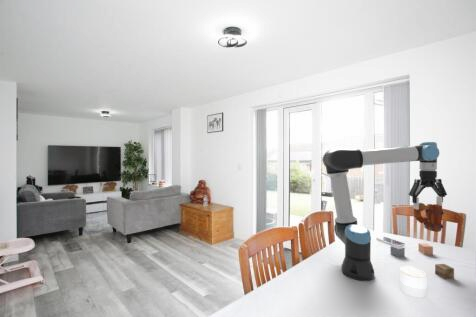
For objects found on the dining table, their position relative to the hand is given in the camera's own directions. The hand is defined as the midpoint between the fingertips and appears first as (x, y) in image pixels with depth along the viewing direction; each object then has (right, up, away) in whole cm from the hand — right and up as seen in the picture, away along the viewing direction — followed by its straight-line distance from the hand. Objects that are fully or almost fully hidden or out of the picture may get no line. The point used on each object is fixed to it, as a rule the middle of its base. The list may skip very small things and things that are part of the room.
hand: (427, 208), depth 131 cm
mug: (0, -12, 0) cm, 12 cm away
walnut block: (-2, -31, -12) cm, 34 cm away
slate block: (-9, -31, +12) cm, 34 cm away
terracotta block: (+10, -30, +15) cm, 35 cm away
